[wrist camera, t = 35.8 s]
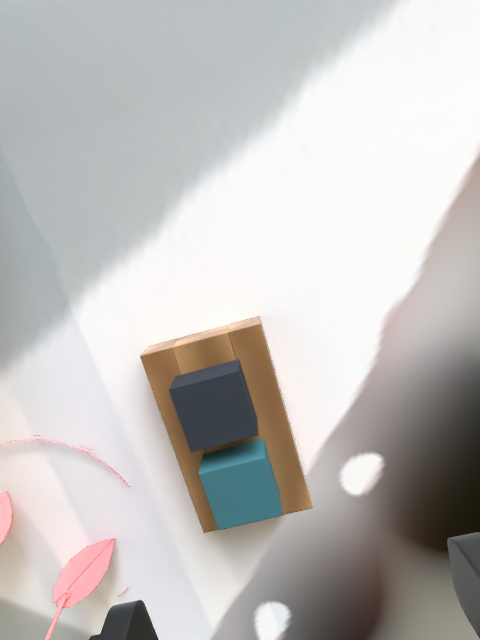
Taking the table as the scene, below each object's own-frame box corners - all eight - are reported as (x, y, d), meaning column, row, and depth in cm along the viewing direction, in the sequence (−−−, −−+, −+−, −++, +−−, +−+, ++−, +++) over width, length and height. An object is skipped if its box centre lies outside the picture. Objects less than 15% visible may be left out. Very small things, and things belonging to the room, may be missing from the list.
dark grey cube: (199, 418, 37) (190, 452, 31) (181, 364, 35) (168, 389, 30) (256, 403, 36) (258, 435, 30) (239, 348, 35) (238, 370, 29)
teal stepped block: (223, 485, 38) (218, 530, 32) (206, 436, 37) (198, 474, 31) (277, 472, 38) (283, 515, 32) (262, 422, 37) (265, 457, 31)
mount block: (207, 511, 39) (203, 533, 36) (148, 346, 35) (139, 356, 32) (307, 487, 38) (312, 508, 35) (259, 315, 34) (260, 323, 31)
